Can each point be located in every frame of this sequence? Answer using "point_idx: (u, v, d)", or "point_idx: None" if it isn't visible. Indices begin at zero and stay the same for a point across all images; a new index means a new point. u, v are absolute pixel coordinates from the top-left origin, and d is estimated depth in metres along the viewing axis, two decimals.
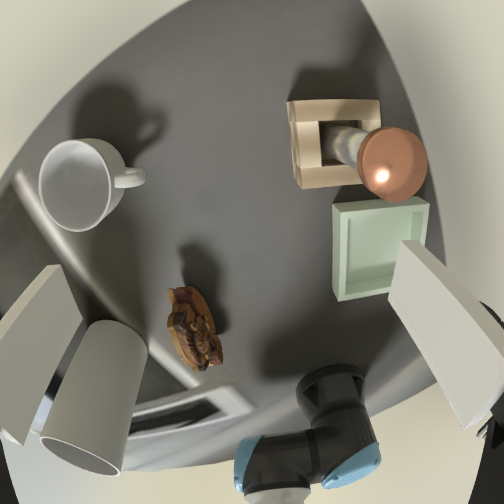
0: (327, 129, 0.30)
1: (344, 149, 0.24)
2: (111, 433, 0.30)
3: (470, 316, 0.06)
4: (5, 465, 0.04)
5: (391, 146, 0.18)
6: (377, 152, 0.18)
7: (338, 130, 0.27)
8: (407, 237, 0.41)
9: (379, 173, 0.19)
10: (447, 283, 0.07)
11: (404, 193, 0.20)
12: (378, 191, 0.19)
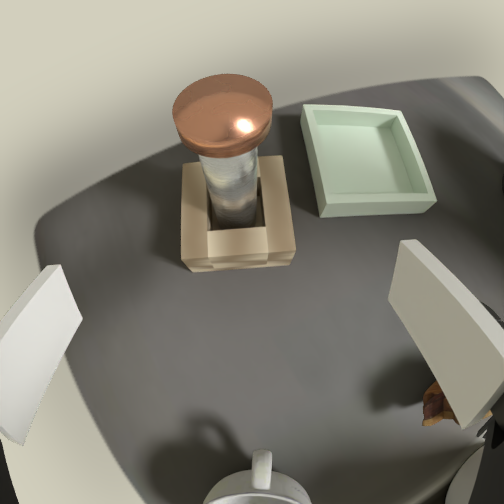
0: (220, 221, 0.27)
1: (226, 187, 0.20)
2: None
3: (470, 316, 0.06)
4: (5, 465, 0.04)
5: (195, 112, 0.14)
6: (202, 127, 0.14)
7: (214, 204, 0.24)
8: (349, 128, 0.35)
9: (231, 122, 0.14)
10: (447, 283, 0.07)
11: (259, 93, 0.15)
12: (258, 121, 0.14)
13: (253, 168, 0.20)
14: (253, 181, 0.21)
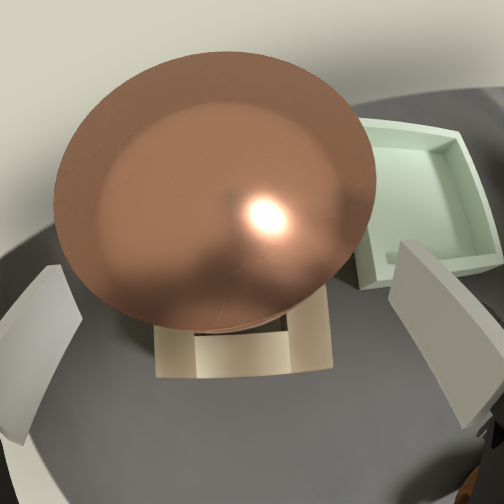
0: None
1: None
2: None
3: (470, 316, 0.06)
4: (5, 465, 0.04)
5: (114, 185, 0.04)
6: (129, 257, 0.04)
7: None
8: (396, 152, 0.25)
9: (236, 240, 0.04)
10: (447, 283, 0.07)
11: (328, 114, 0.05)
12: (338, 238, 0.04)
13: None
14: None
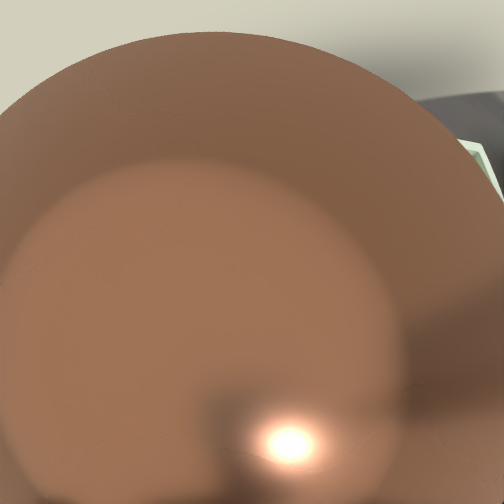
0: None
1: None
2: None
3: None
4: None
5: None
6: None
7: None
8: None
9: None
10: None
11: (484, 266, 0.01)
12: None
13: None
14: None
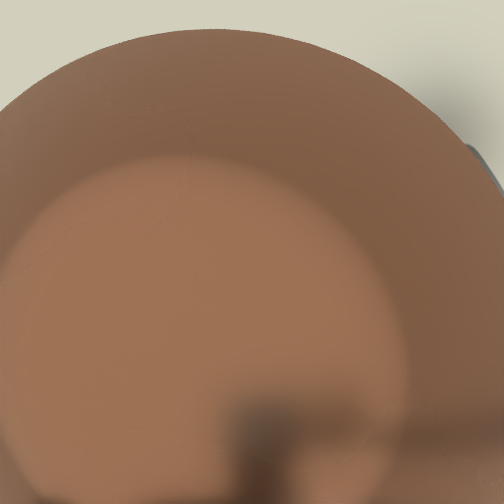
0: None
1: None
2: None
3: None
4: None
5: None
6: None
7: None
8: None
9: None
10: None
11: (484, 264, 0.01)
12: None
13: None
14: None
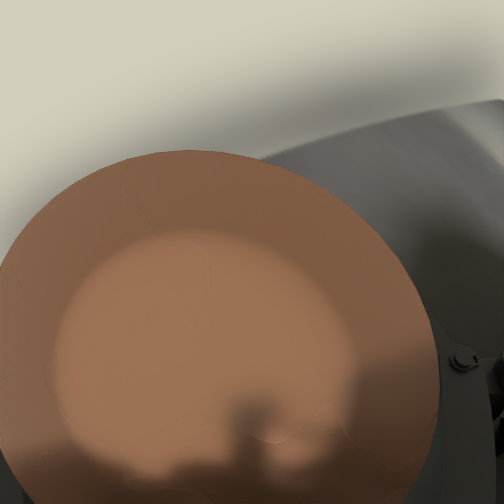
0: None
1: None
2: None
3: None
4: None
5: (51, 446, 0.02)
6: None
7: None
8: None
9: None
10: None
11: (385, 339, 0.02)
12: None
13: None
14: None
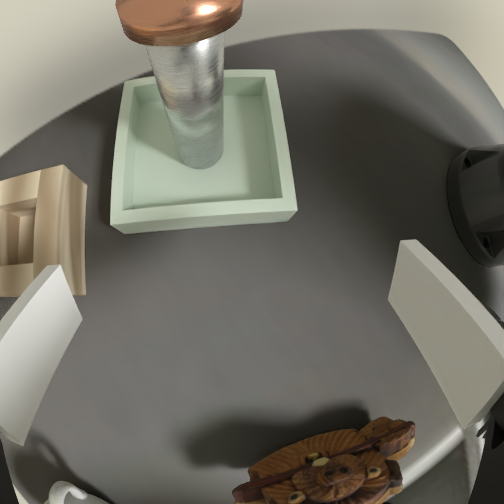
0: (179, 148, 0.21)
1: (183, 96, 0.14)
2: None
3: (470, 316, 0.06)
4: (5, 465, 0.04)
5: None
6: (149, 8, 0.08)
7: (170, 124, 0.18)
8: None
9: (187, 1, 0.08)
10: (447, 283, 0.07)
11: None
12: None
13: (218, 72, 0.13)
14: (218, 91, 0.15)
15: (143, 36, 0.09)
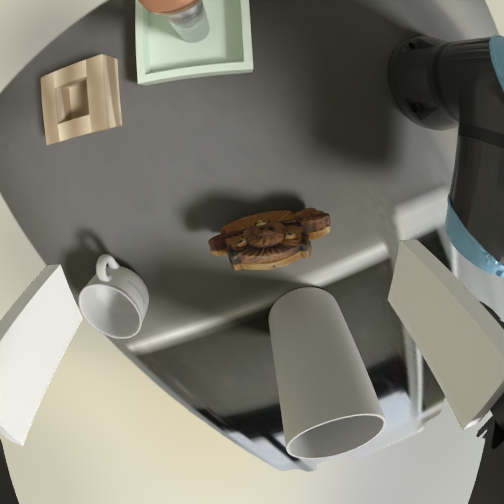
0: (179, 34, 0.26)
1: (179, 22, 0.20)
2: (320, 389, 0.30)
3: (470, 316, 0.06)
4: (5, 465, 0.04)
5: None
6: (155, 1, 0.15)
7: (173, 26, 0.23)
8: None
9: None
10: (447, 283, 0.07)
11: None
12: None
13: (198, 9, 0.19)
14: (199, 14, 0.21)
15: (155, 12, 0.16)
